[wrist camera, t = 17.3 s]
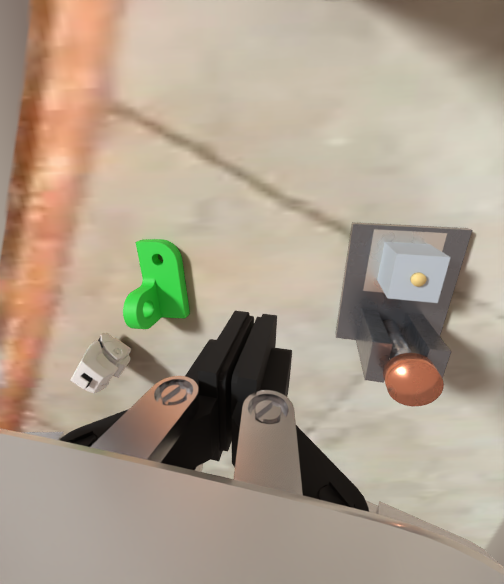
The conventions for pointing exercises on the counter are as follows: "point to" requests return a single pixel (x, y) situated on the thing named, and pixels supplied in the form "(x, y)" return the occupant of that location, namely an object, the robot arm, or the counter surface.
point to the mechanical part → (157, 286)
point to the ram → (409, 372)
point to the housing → (412, 271)
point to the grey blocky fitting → (101, 363)
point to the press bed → (407, 314)
